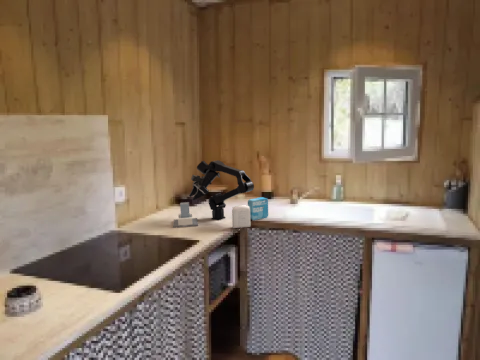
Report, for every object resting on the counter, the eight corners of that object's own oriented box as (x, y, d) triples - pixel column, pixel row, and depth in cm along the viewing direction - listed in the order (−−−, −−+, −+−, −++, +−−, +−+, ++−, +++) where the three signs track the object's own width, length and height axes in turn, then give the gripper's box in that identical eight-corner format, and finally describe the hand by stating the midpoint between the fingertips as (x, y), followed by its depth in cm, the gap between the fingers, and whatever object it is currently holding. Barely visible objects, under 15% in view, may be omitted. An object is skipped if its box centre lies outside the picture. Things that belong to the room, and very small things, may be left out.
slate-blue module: (189, 220, 228) (188, 202, 226) (189, 222, 224) (188, 203, 222) (181, 220, 227) (180, 202, 226) (181, 222, 223) (180, 204, 221)
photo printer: (249, 225, 218) (249, 203, 216) (251, 227, 213) (250, 205, 212) (231, 226, 216) (231, 205, 214) (233, 228, 212) (232, 206, 210)
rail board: (197, 219, 234) (196, 212, 233) (197, 226, 219) (197, 218, 219) (174, 220, 232) (173, 213, 231) (173, 227, 217) (172, 220, 217)
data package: (252, 220, 227) (251, 200, 225) (248, 219, 231) (247, 199, 229) (268, 217, 233) (268, 198, 231) (264, 215, 237) (263, 196, 235)
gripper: (195, 167, 238) (178, 186, 236) (202, 172, 220) (184, 192, 219) (208, 179, 242) (191, 198, 240) (216, 184, 224) (198, 204, 223)
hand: (191, 198), depth 230 cm, fingers open, 9 cm apart
